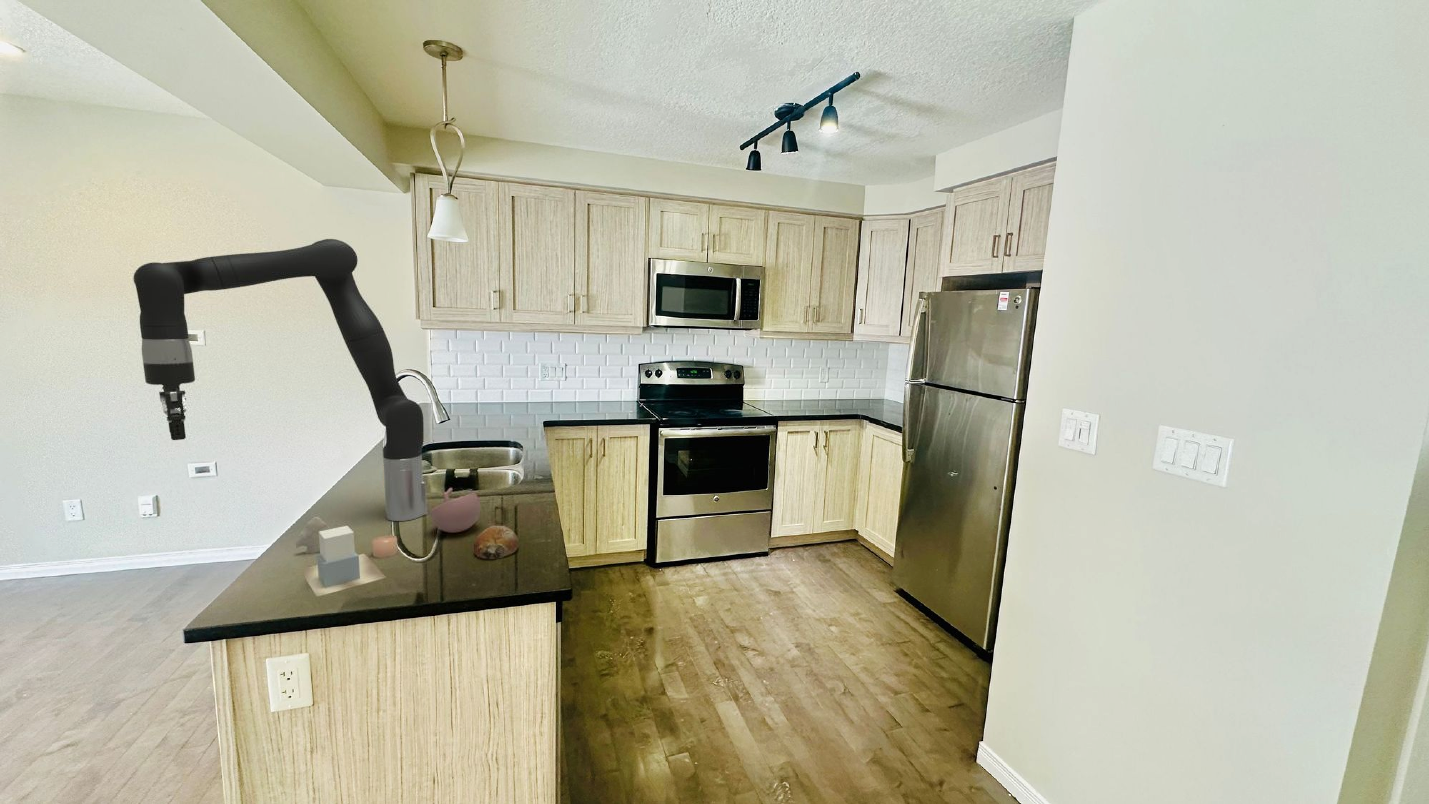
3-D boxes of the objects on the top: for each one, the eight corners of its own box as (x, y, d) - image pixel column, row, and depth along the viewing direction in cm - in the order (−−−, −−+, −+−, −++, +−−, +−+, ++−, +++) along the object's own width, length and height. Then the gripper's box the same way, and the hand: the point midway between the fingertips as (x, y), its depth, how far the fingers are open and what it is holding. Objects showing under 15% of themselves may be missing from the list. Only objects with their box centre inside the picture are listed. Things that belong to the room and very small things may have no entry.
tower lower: (352, 568, 119) (350, 546, 118) (360, 578, 115) (358, 555, 114) (318, 577, 115) (316, 554, 114) (325, 587, 111) (323, 564, 110)
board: (364, 559, 127) (364, 553, 127) (386, 584, 116) (386, 577, 116) (300, 575, 119) (299, 569, 118) (317, 603, 108) (316, 596, 107)
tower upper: (348, 548, 118) (347, 525, 117) (355, 555, 114) (353, 532, 114) (320, 554, 114) (318, 531, 114) (326, 562, 111) (324, 538, 110)
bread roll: (522, 564, 136) (531, 531, 138) (495, 562, 127) (505, 526, 129) (489, 557, 139) (498, 525, 141) (461, 554, 130) (471, 520, 132)
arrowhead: (295, 562, 124) (292, 520, 123) (297, 558, 127) (294, 516, 125) (338, 556, 128) (335, 515, 127) (339, 552, 130) (336, 511, 129)
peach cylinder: (394, 553, 131) (393, 533, 130) (400, 560, 128) (399, 539, 127) (370, 559, 127) (369, 538, 127) (377, 566, 124) (376, 545, 123)
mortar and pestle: (459, 519, 153) (458, 479, 152) (491, 528, 148) (490, 486, 147) (420, 534, 143) (418, 491, 141) (452, 543, 138) (450, 499, 136)
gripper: (195, 362, 114) (204, 439, 117) (190, 357, 124) (199, 428, 126) (143, 364, 109) (153, 444, 111) (142, 358, 119) (152, 433, 121)
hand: (177, 436), depth 119 cm, fingers open, 8 cm apart
